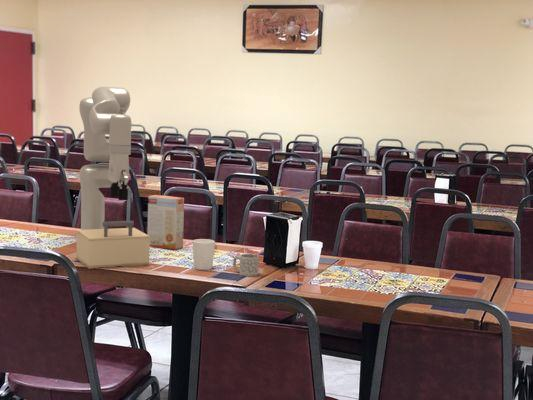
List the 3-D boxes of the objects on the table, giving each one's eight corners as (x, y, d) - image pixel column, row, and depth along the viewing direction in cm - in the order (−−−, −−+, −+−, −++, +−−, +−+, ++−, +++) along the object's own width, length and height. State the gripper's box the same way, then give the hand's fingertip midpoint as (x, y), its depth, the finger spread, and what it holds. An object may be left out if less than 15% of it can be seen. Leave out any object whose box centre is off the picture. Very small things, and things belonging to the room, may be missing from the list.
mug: (261, 274, 272) (262, 255, 271) (251, 277, 266) (252, 258, 265) (238, 269, 277) (238, 251, 276) (227, 273, 271) (228, 254, 270)
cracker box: (183, 248, 312) (185, 197, 309) (175, 250, 306) (176, 198, 303) (155, 244, 318) (156, 194, 315) (146, 246, 312) (147, 195, 310)
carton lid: (76, 231, 282) (76, 215, 281) (134, 229, 292) (134, 213, 291) (89, 240, 266) (89, 223, 266) (149, 237, 276) (150, 221, 276)
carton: (76, 258, 283) (76, 231, 282) (133, 255, 294) (134, 229, 292) (88, 268, 268) (89, 240, 266) (149, 265, 278) (149, 238, 276)
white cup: (200, 264, 282) (201, 238, 281) (218, 268, 278) (219, 241, 277) (187, 268, 275) (188, 241, 274) (205, 271, 272) (206, 243, 270)
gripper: (102, 148, 275) (101, 195, 277) (116, 151, 260) (115, 201, 262) (122, 148, 279) (122, 195, 281) (137, 151, 264) (136, 201, 266)
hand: (118, 198), depth 271 cm, fingers open, 9 cm apart
